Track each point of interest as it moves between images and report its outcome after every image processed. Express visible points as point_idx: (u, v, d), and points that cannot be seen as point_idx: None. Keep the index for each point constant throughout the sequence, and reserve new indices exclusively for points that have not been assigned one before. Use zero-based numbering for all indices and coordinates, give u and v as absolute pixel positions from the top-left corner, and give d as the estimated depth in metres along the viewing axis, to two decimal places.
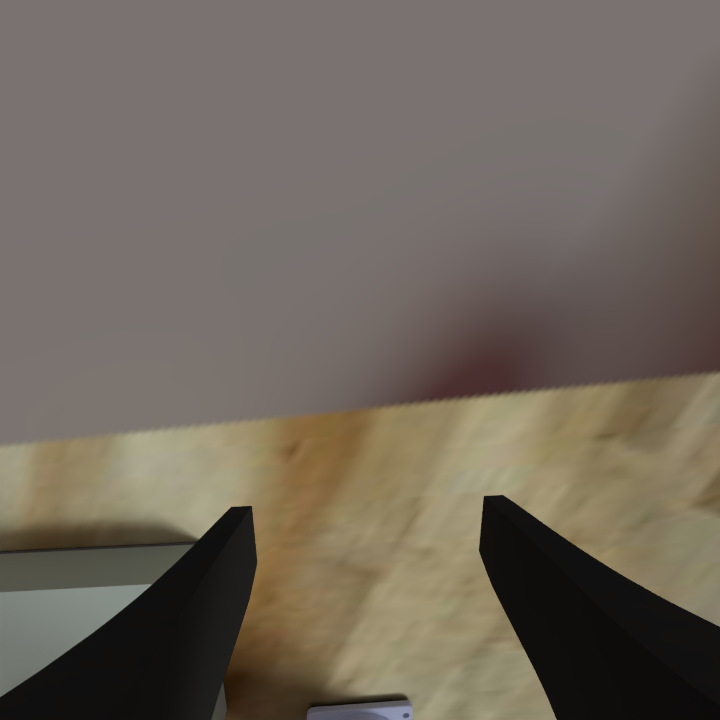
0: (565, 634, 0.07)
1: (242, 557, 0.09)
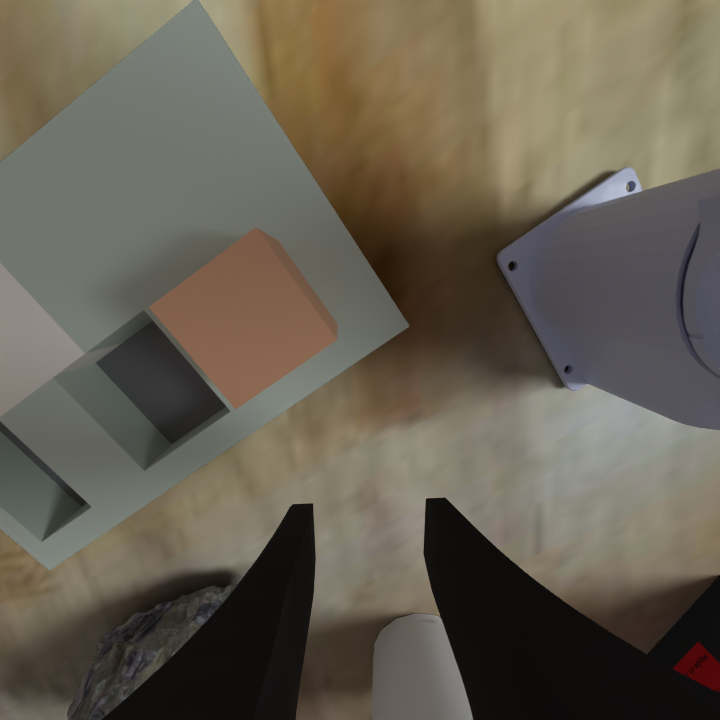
0: (479, 640, 0.07)
1: (309, 554, 0.09)
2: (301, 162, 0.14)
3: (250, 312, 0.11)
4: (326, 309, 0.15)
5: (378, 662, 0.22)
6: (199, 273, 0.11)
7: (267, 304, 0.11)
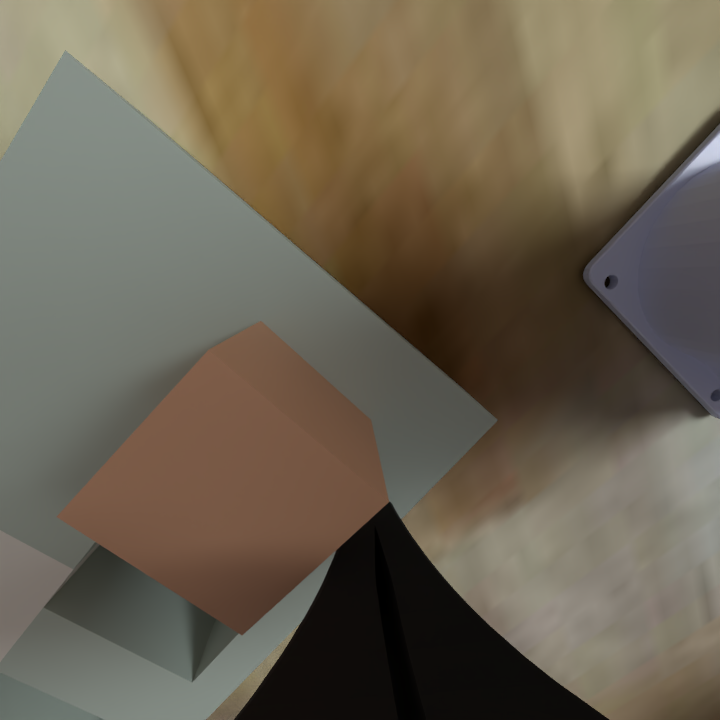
0: (393, 645, 0.07)
1: None
2: (287, 243, 0.09)
3: (231, 490, 0.06)
4: (351, 404, 0.10)
5: None
6: (128, 446, 0.06)
7: (257, 472, 0.06)
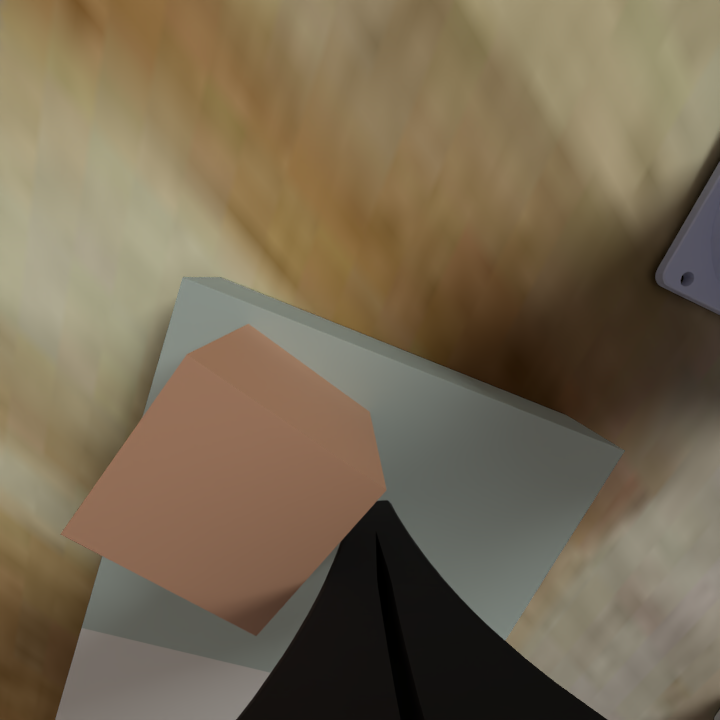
0: (392, 645, 0.07)
1: None
2: (398, 364, 0.10)
3: (227, 492, 0.06)
4: (347, 398, 0.10)
5: None
6: (120, 458, 0.06)
7: (250, 472, 0.06)
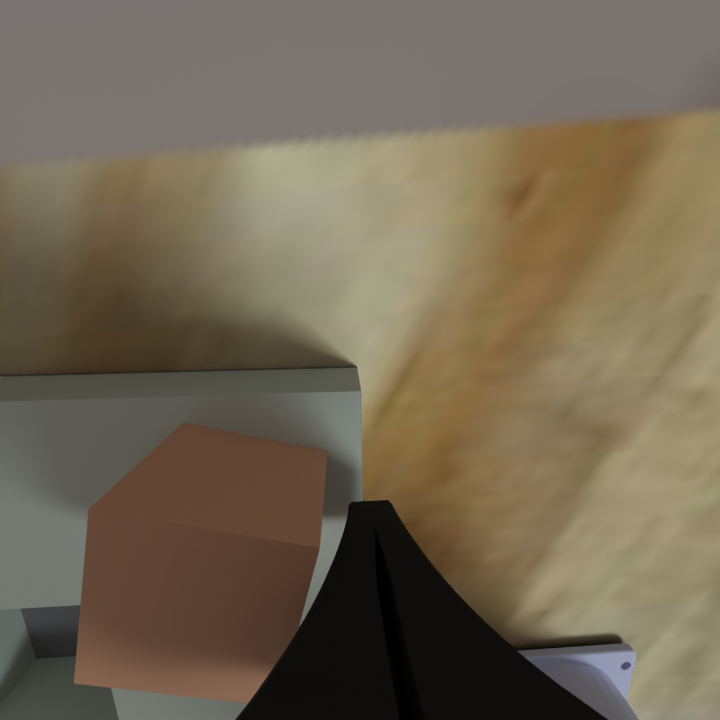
0: (393, 645, 0.07)
1: None
2: None
3: (212, 613, 0.07)
4: None
5: None
6: (198, 531, 0.07)
7: (240, 621, 0.07)
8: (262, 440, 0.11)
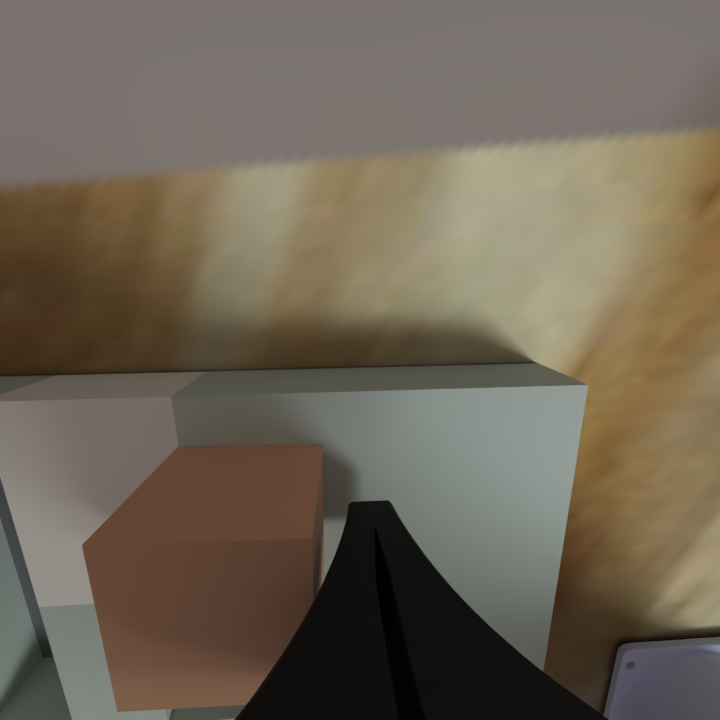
0: (393, 645, 0.07)
1: None
2: (559, 556, 0.12)
3: (226, 621, 0.07)
4: (323, 546, 0.11)
5: None
6: (190, 545, 0.07)
7: (256, 624, 0.07)
8: (256, 447, 0.11)
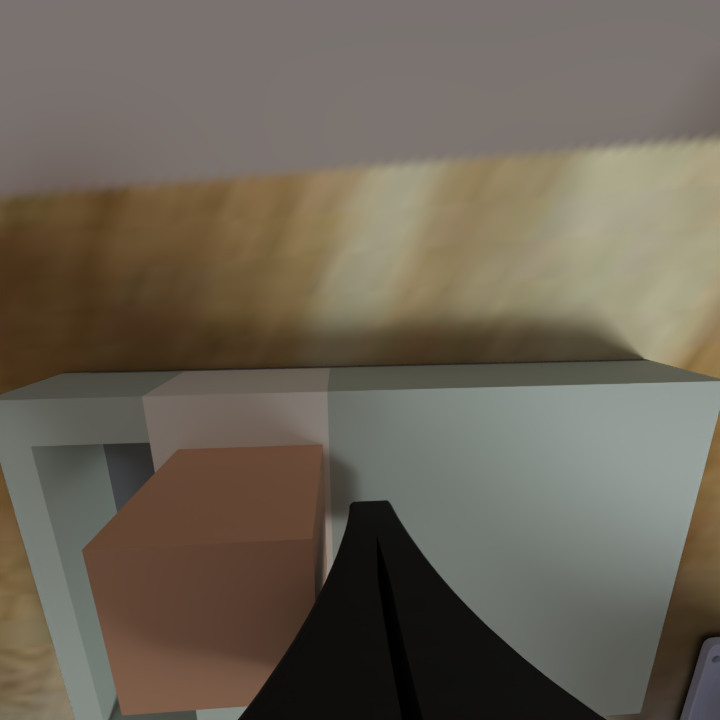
0: (391, 645, 0.07)
1: None
2: (680, 549, 0.13)
3: (228, 623, 0.07)
4: (325, 545, 0.11)
5: None
6: (190, 548, 0.07)
7: (258, 626, 0.07)
8: (256, 448, 0.11)
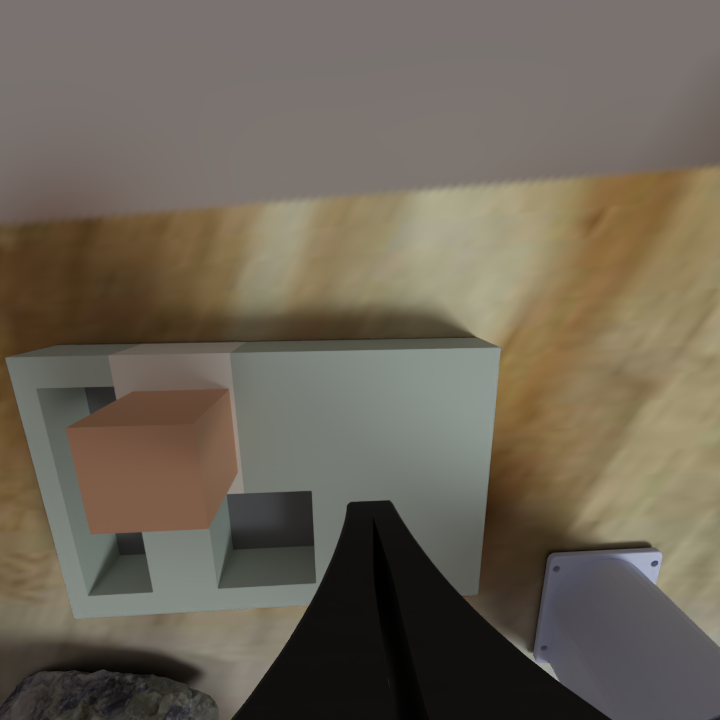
0: (395, 645, 0.07)
1: (372, 550, 0.09)
2: (488, 468, 0.18)
3: (149, 475, 0.13)
4: (234, 459, 0.17)
5: None
6: (126, 428, 0.12)
7: (167, 477, 0.13)
8: (184, 391, 0.16)
